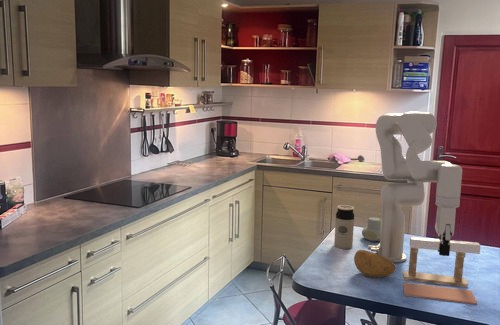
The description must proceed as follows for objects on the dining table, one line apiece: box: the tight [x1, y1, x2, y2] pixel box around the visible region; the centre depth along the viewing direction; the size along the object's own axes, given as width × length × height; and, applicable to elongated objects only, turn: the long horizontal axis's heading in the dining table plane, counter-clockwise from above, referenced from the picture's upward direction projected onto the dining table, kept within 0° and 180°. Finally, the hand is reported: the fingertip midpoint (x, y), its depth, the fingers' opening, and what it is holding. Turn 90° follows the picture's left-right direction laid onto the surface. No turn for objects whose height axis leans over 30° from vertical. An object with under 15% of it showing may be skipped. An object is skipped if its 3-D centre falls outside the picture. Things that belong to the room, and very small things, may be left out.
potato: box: [353, 249, 397, 278], centre depth 180 cm, size 9×16×9 cm, turn 53°
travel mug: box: [333, 204, 355, 250], centre depth 212 cm, size 8×8×18 cm
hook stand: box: [402, 248, 469, 288], centre depth 177 cm, size 22×6×14 cm, turn 76°
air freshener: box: [361, 216, 381, 242], centre depth 223 cm, size 11×8×10 cm
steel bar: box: [409, 236, 482, 255], centre depth 163 cm, size 22×3×3 cm, turn 76°
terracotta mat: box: [402, 282, 478, 305], centre depth 166 cm, size 23×10×1 cm, turn 76°
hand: (443, 253), depth 163 cm, fingers closed on steel bar, 3 cm apart
